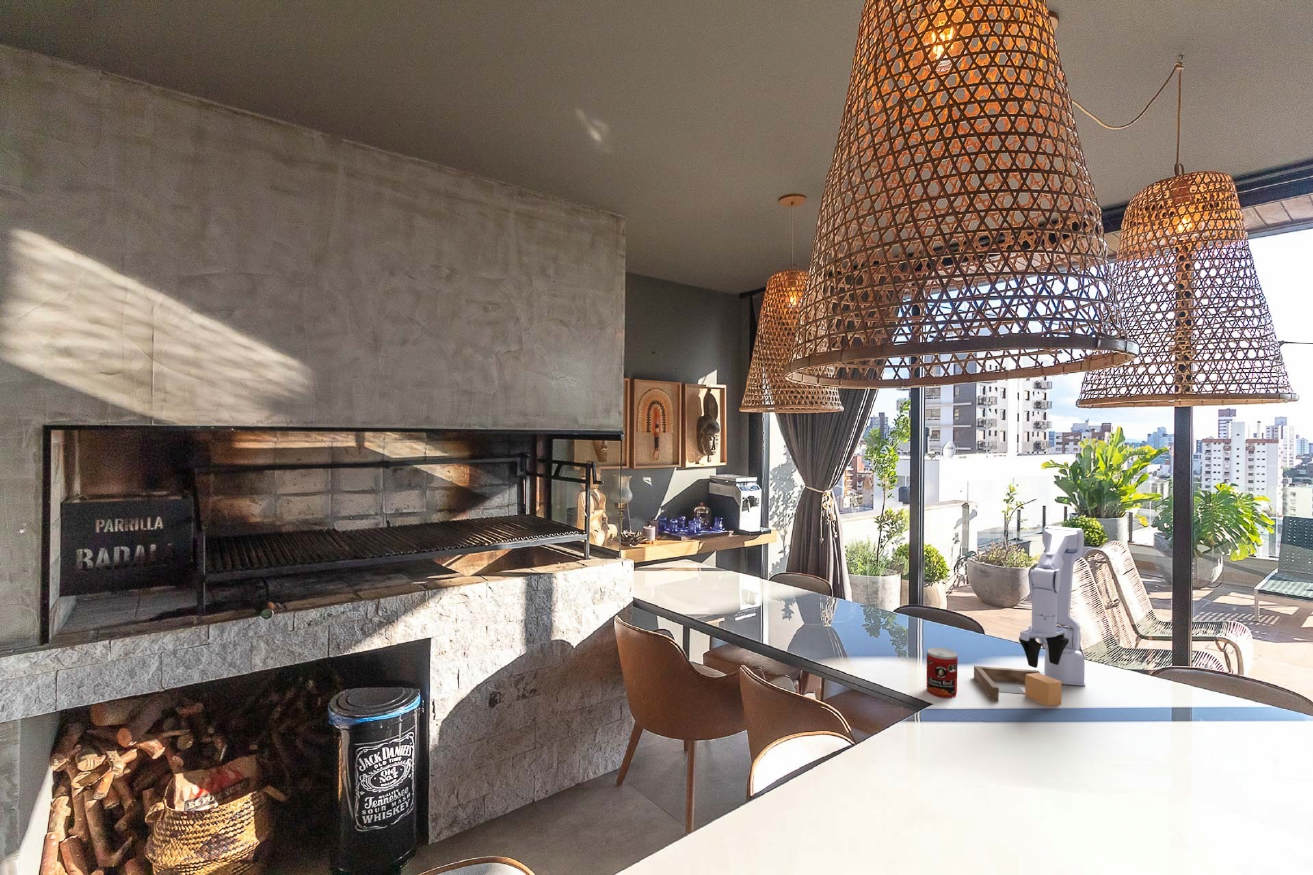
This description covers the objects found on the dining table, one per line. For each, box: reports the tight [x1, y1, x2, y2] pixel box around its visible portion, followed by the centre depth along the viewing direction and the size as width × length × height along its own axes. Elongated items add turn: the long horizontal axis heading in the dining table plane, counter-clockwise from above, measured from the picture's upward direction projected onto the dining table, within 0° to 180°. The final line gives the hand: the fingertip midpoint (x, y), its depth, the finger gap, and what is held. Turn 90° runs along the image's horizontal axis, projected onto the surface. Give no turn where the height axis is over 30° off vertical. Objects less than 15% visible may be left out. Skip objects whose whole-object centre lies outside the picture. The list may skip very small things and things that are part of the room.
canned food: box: [926, 647, 959, 699], centre depth 179 cm, size 8×8×11 cm
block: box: [1024, 673, 1063, 707], centre depth 175 cm, size 4×7×6 cm, turn 19°
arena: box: [973, 665, 1041, 702], centre depth 181 cm, size 17×17×4 cm
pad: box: [993, 681, 1025, 695], centre depth 184 cm, size 9×8×1 cm
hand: (1043, 664), depth 175 cm, fingers open, 7 cm apart
